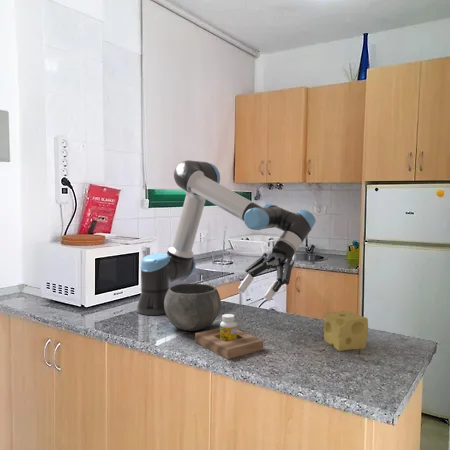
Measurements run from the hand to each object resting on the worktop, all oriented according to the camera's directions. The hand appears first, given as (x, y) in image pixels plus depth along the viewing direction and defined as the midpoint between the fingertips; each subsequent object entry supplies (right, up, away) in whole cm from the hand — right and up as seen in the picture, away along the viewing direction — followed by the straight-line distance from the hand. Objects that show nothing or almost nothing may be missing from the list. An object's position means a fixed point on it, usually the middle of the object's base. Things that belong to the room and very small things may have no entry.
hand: (253, 294), depth 142 cm
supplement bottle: (-8, -16, -5) cm, 18 cm away
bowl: (-22, -15, +13) cm, 29 cm away
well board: (-8, -16, -5) cm, 19 cm away
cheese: (+30, -16, -3) cm, 34 cm away
